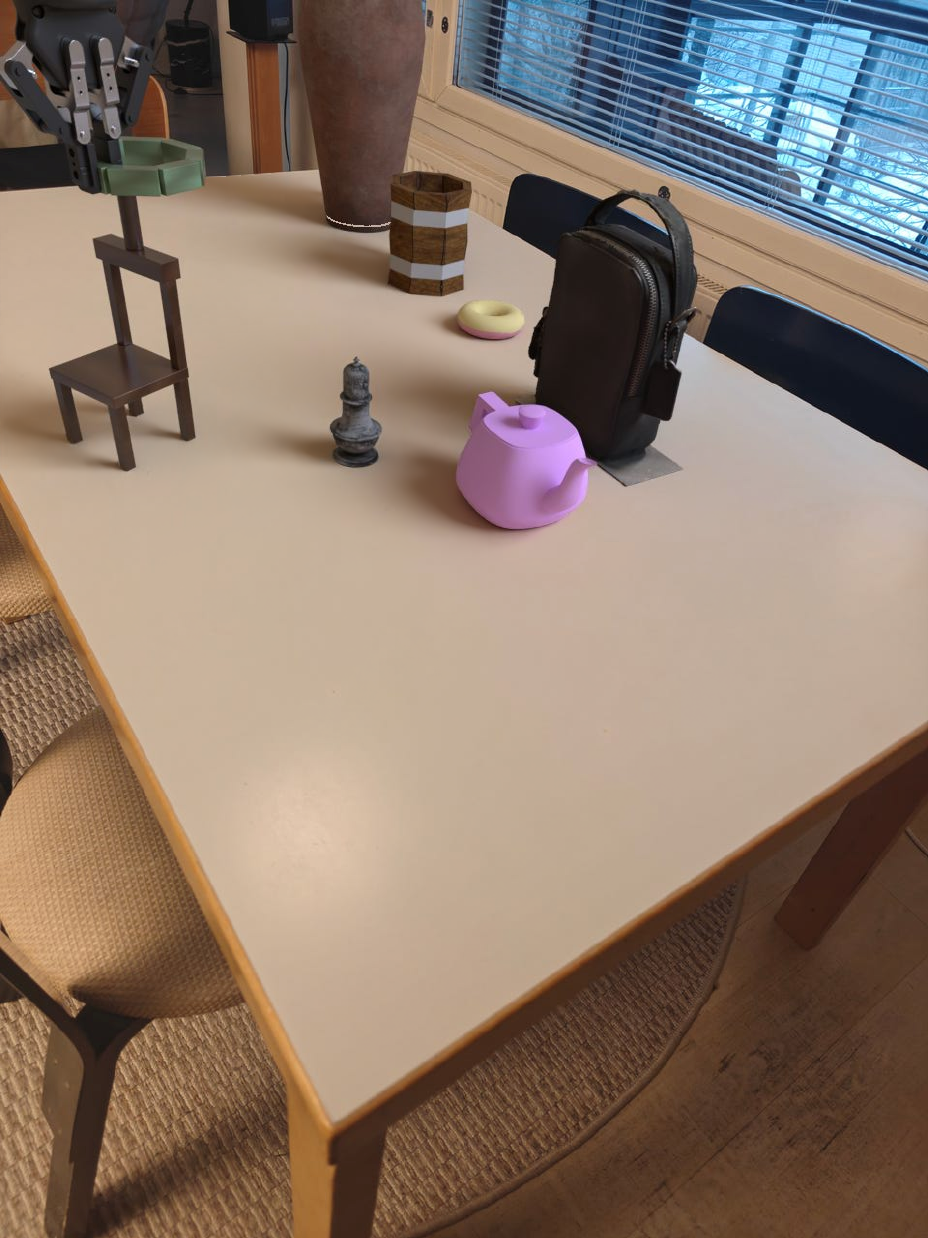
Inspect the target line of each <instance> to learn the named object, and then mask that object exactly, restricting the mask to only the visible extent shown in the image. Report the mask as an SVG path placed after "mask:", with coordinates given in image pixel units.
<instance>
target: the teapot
mask: <svg viewBox="0 0 928 1238" xmlns="http://www.w3.org/2000/svg"><path fill="white" fill-rule="evenodd" d="M468 429H469V431H470V433H471V434H470V435H469V437H468V439H467V440H466V442H465V444H464V447H463V448H462V451H461V453H460V455H459V459H458V462H457V467H456V472H455V481H456V485H457V487H458V489H459V491H460V493H461V494H462V496H463V498H464V499H465V500H466V502H467V503H468V504H469V506H470V507H472V509H473V510H474V511H475V512H477V513H478V514H479V515H480V516H481V517H482V518H484V519H485V520H486V521H488V522H489V523H491V524H493V525H495V526H497V527H499V528H503V529H511V530H524V529H533V528H540V527H544V526H548V525H550V524H553V523H556V522H558V521H560V520H561V519H563V518H565V517H567V516H568V515H570V514H571V513H572V512H573V511H574V510H576V509H577V508H578V507H579V506H580V505H581V504H582V503H583V501H584V499H585V498H586V496H587V490H588V486H589V485H588V484H589V468H592V467H596V466H597V465H598V464H597V463H596V462H595V461H594V460H592V459H591V458H589V457H588V458H587V455H586V454H585V452H584V448H583V445H582V441H581V438H580V436H579V433H578V431H577V429H576V428H575V427H574V426H573V425H572V424H571V423H570V422H569V421H568V420H567V419H565V418H564V417H563V416H561V415H560V414H559V413H557V412H555V411H554V410H552V409H550V408H548V407H545V406H541V405H521V404H518V405H511V406H509V404H508V403H506V402H505V401H504V400H503V399H501V398H500V397H499V396H498V395H497V394H496V393H495V392H493V391H488V392H484V393H479V394H478V395H477V398H476V401H475V405H474V408H473V411H472V414H471V417H470V421H469V424H468Z"/></svg>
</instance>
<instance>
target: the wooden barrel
mask: <svg viewBox="0 0 928 1238" xmlns="http://www.w3.org/2000/svg"><path fill="white" fill-rule="evenodd" d="M390 187H391V200H392V205H391V223H390V229H389V233H388V239H389V240H388V241H389V269H388V278H387V285H390V286H391V287H394V288H396V289H398V290H400V291H403V292H405V293H407V294H410V295H420V296H421V295H423V296H435V297H444V296H447V295H450V294H454V293H458V292H460V291H464V290H465V288H464V287H465V285H464V282H465V281H464V270H465V260H466V253H467V247H468V221H469V211H470V210H469V208H470V204H471V200H472V199H471V197H472V193H473V187H472V182H471V181H470V180H467V179H464V178H461V177H458V176H456V175H453V174H450V173H444V172H434V171H433V172H432V171H421V170H412V171H410V170H404V172H402V173H400V174H394V175H392V177H391V183H390Z"/></svg>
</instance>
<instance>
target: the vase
mask: <svg viewBox="0 0 928 1238" xmlns="http://www.w3.org/2000/svg"><path fill="white" fill-rule="evenodd" d="M296 28H297V37H298V46H299V48H298V49H299V55H300V57H299V58H300V65H301V70H302V76H303V82H304V87H305V93H306V98H307V104H308V105H307V106H308V109H309V116H310V122H311V128H312V134H313V136H312V137H313V142H314V148H315V155H316V161H317V168H318V175H319V182H320V187H321V193H322V194H321V195H322V202H323V208H324V214H325V213H326V214H325V220H326V223H327V224H329V225H330V226H332V227H333V228H336V229H338V230H342V231H347V232H351V233H360V234H370V233H371V234H372V233H373V234H375V233H381V232H385V231H390V224H389V225H386V226H381V227H353V226H347V225H343V224H339V223H336V222H333V221H331V220H330V219H328V218H327V217H326V215H327V216H328V217H330V218H331V219H333V220H335V221H338V222H341V223H346V224H351V225H352V224H353V225H364V226H369V225H370V226H371V225H381V224H385V223H388V222H391V205H392V200H391V187H390V183H391V177H392V175H394V174H400V173H402V172H405V166H406V160H407V153H408V148H409V142H410V137H411V136H410V135H411V131H412V126H413V125H412V124H413V119H414V113H415V109H416V103H417V99H418V93H419V89H420V84H421V79H422V73H423V65H424V57H425V47H426V40H427V36H426V26H425V15H424V6H423V1H422V0H299V5H298V15H297V25H296Z"/></svg>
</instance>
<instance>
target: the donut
mask: <svg viewBox="0 0 928 1238" xmlns="http://www.w3.org/2000/svg"><path fill="white" fill-rule="evenodd" d="M456 317H457V318H456V319H457V324H458V325H459V327H460V328H461V330H463V331H464V332H465V333H467V334H469V335H472V336H473V337H478V338H482V339H487V340H504V339H505V340H506V339H510V338H513V337H515V336H517V335H519V333H520V332H522V331H523V329H524V327H525V316H524V313H522V311H521V310H520V309H519V308H518V307H516V306H515V305H513V304H511V303H508V302H506V301H501V300H495V299H478V300H472V301H469V302H467V303H464V304H463V305H462V306H461V307H459V310H458V312H457V315H456Z"/></svg>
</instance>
